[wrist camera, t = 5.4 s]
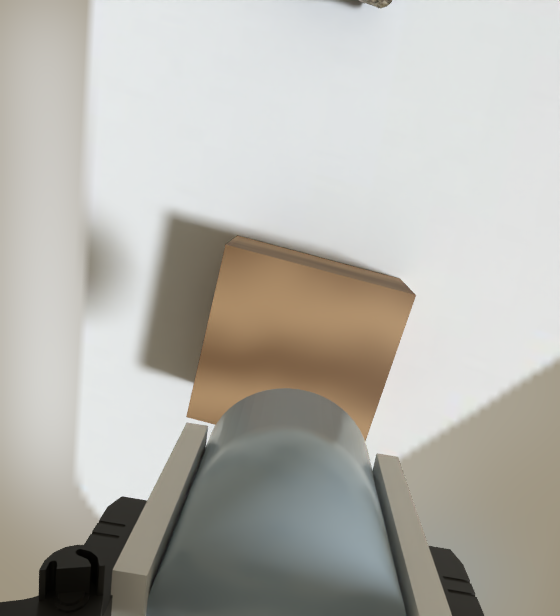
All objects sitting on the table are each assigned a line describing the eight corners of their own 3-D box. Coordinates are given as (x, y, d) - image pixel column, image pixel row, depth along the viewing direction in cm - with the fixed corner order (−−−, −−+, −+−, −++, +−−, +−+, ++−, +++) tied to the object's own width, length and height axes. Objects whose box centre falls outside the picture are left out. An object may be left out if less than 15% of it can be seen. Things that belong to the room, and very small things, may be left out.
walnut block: (237, 234, 31) (225, 244, 26) (398, 277, 31) (416, 294, 26) (203, 383, 34) (186, 416, 29) (350, 422, 34) (358, 461, 29)
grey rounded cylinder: (215, 376, 17) (154, 503, 10) (383, 402, 17) (436, 549, 10) (198, 519, 18) (134, 715, 11) (352, 544, 18) (380, 757, 11)
